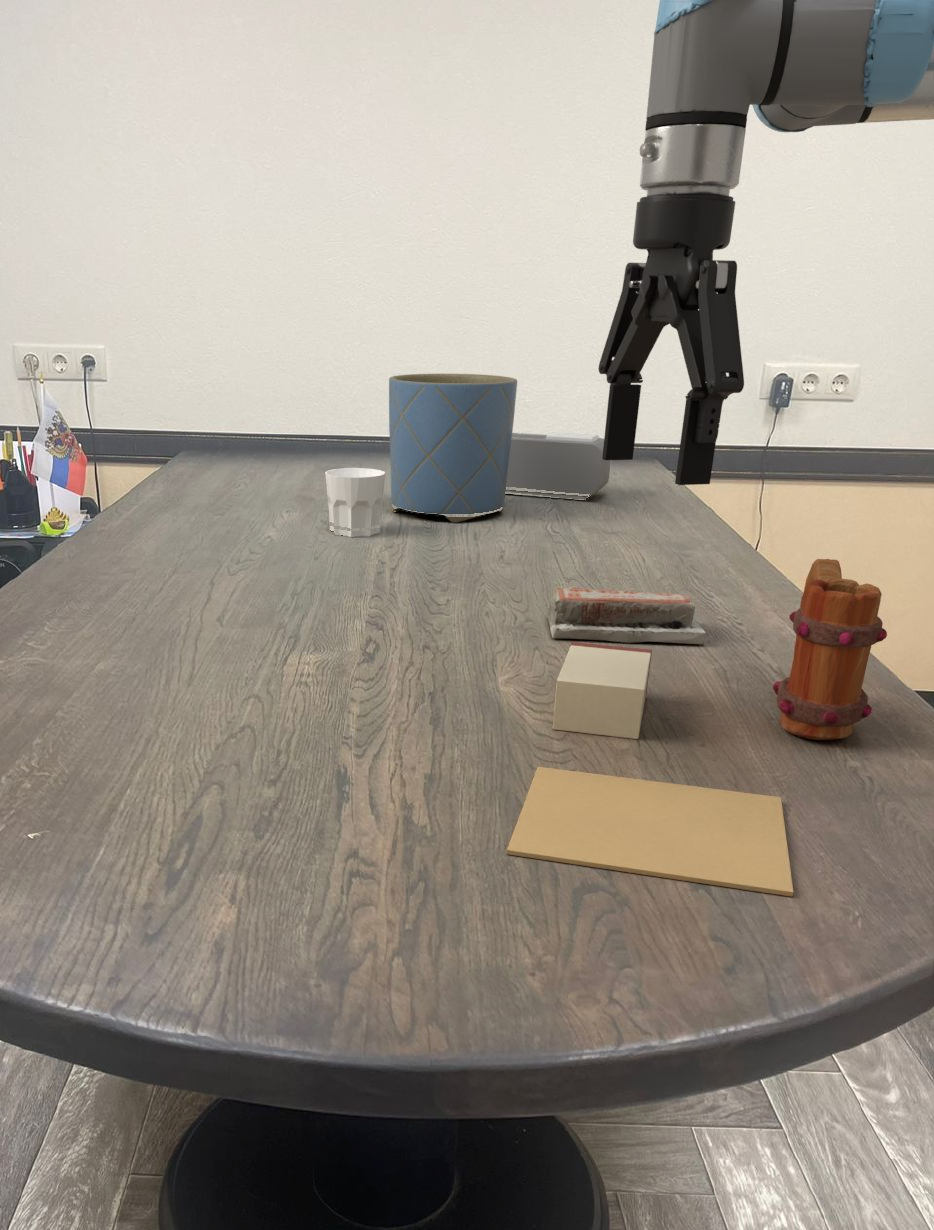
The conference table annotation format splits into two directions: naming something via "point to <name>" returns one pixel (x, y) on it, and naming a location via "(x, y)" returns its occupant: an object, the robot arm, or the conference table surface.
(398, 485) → the planter
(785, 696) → the mug
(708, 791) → the cork mat
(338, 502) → the cup
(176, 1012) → the conference table surface
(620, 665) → the red-capped cream block
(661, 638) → the grey boxy piece
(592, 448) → the grey rounded block
